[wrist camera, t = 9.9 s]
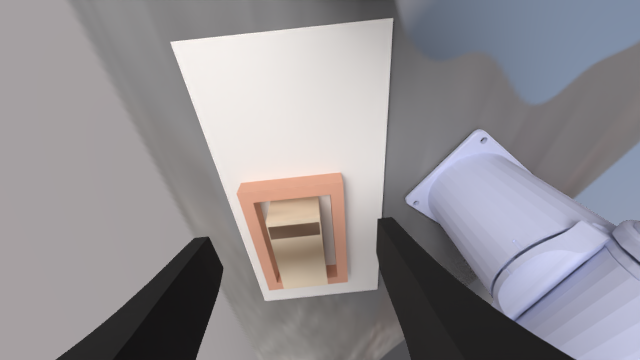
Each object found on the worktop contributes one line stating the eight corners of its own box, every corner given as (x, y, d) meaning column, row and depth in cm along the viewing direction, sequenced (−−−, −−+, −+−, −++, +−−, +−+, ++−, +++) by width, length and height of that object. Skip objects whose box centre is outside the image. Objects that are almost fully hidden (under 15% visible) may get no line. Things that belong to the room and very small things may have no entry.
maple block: (325, 258, 24) (327, 285, 22) (286, 262, 24) (284, 290, 22) (317, 194, 20) (319, 218, 17) (270, 199, 20) (265, 224, 17)
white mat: (391, 18, 14) (393, 17, 14) (376, 286, 28) (377, 289, 27) (173, 41, 14) (170, 41, 14) (265, 297, 28) (265, 301, 27)
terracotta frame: (241, 182, 19) (236, 193, 18) (340, 172, 19) (343, 182, 18) (270, 277, 25) (269, 290, 24) (345, 269, 25) (347, 282, 24)
